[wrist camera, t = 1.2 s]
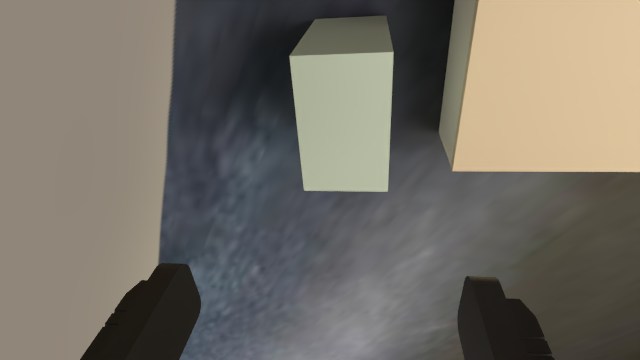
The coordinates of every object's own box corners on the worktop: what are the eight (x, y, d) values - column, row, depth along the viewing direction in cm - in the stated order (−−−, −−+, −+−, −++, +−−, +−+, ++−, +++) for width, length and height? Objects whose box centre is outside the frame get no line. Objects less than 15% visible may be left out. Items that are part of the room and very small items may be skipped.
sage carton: (315, 19, 26) (289, 56, 18) (386, 15, 25) (393, 52, 17) (322, 122, 30) (304, 190, 22) (382, 121, 30) (387, 191, 21)
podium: (459, -40, 23) (484, -34, 18) (670, -54, 22) (760, -53, 17) (438, 132, 30) (452, 171, 25) (599, 130, 28) (649, 171, 23)
